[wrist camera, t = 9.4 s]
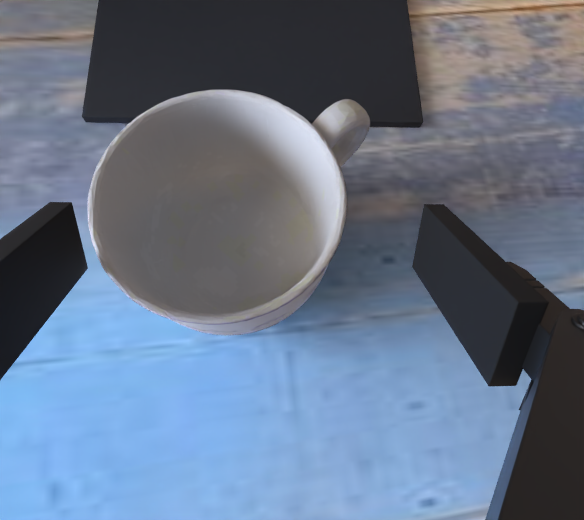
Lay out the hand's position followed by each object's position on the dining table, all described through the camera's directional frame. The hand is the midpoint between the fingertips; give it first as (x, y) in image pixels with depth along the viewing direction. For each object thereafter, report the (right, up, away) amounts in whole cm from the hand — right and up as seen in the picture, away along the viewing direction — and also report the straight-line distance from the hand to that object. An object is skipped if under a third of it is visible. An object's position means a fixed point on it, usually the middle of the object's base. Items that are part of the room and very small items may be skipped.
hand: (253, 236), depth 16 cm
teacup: (-1, 0, +9) cm, 9 cm away
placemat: (-1, +18, +14) cm, 23 cm away
